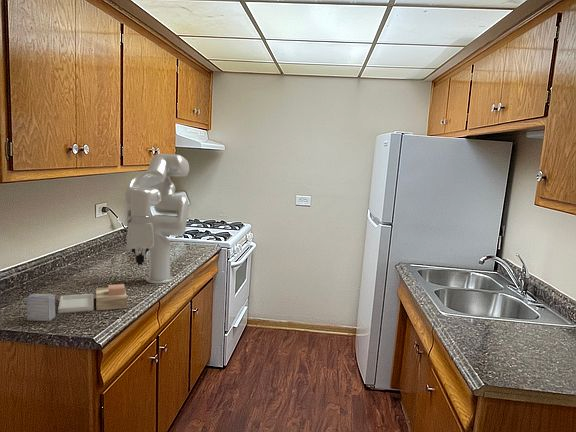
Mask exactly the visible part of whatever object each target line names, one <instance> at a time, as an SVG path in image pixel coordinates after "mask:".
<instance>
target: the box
mask: <svg viewBox="0 0 576 432" xmlns="http://www.w3.org/2000/svg"><path fill="white" fill-rule="evenodd" d="M94 299H95V297H94V293H84V294H69V295H67V294H66V295H61V296H60V298H59V303H58V307H57V314H58V315H59V314H72V313H82V312H94V311H95V310H94V309H95V307H94V306H95V305H94V304H95V302H94Z"/></svg>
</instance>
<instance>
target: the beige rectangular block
mask: <svg viewBox="0 0 576 432" xmlns="http://www.w3.org/2000/svg"><path fill="white" fill-rule="evenodd" d="M95 295H96V296H95V299H96V301H95V303H96V305H95V306H96V307H95V308H96V311H107V310H108V311H109V310H116V309H117V310H119V309H121V310H122V309H127V308H128V296H127V291H126V290H125V294H123V295H109V293H108V287H98V288H97V287H96V288H95Z"/></svg>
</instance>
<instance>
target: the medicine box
mask: <svg viewBox="0 0 576 432" xmlns="http://www.w3.org/2000/svg"><path fill="white" fill-rule="evenodd" d="M55 296H56V295H55V294H53V293H51V294H50V293H32V294H30V295H29V296H26V320H27V321H35V322H36V321H37V322H38V321H39V322H51V321H52V320H53V319H55V318H56V297H55Z"/></svg>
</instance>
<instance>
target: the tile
mask: <svg viewBox="0 0 576 432" xmlns="http://www.w3.org/2000/svg"><path fill="white" fill-rule="evenodd" d="M107 286H108V287H107V288H108V293H109V295H123V294H125V291H126V287H125V284H124V283H120V284H118V283H117V284H108V285H107Z"/></svg>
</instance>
